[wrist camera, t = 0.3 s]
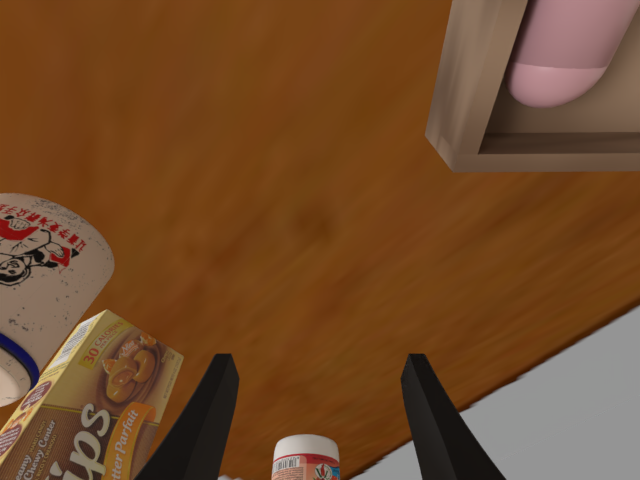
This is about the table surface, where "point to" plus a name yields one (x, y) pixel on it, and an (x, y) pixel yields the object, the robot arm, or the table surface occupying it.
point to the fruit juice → (306, 458)
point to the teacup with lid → (43, 284)
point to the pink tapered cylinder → (564, 48)
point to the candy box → (92, 406)
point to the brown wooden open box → (523, 121)
